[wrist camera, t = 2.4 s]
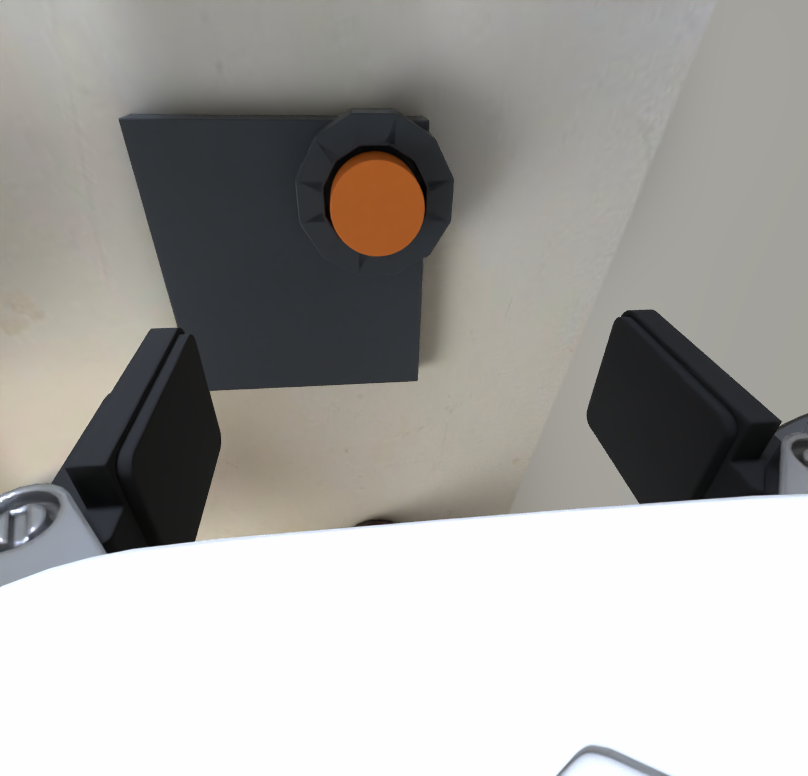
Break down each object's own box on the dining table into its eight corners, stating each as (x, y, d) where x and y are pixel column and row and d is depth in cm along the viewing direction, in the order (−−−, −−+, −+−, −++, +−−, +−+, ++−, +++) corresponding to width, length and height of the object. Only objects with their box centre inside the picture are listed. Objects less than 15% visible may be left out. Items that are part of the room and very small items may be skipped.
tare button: (421, 150, 21) (427, 159, 20) (417, 242, 23) (422, 255, 22) (327, 150, 21) (326, 159, 19) (333, 244, 23) (333, 257, 22)
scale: (446, 105, 22) (459, 114, 20) (429, 368, 31) (437, 396, 28) (125, 101, 21) (98, 110, 19) (200, 378, 30) (188, 409, 27)
